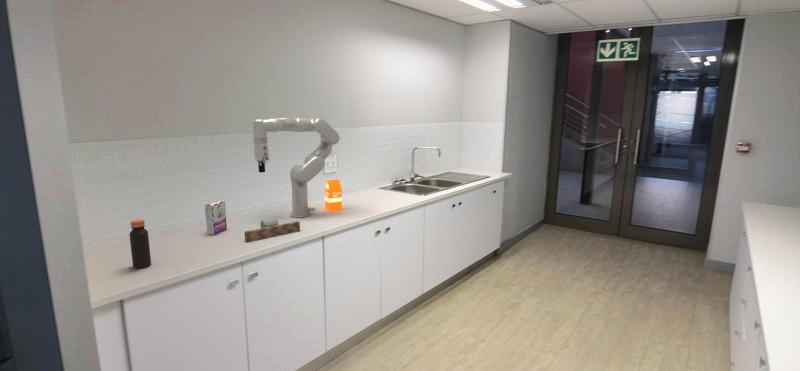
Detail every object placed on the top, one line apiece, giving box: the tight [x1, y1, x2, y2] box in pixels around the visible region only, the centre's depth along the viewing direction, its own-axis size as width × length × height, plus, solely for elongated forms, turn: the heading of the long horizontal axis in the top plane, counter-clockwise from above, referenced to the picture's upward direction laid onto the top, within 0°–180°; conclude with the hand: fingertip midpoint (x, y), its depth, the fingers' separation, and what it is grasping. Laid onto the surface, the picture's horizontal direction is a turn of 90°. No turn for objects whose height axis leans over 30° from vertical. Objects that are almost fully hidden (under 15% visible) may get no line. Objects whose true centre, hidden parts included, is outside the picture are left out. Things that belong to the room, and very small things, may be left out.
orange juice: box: [324, 178, 343, 212], centre depth 283 cm, size 8×9×20 cm
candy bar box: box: [204, 200, 228, 236], centre depth 233 cm, size 11×5×16 cm, turn 168°
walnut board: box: [243, 220, 301, 243], centre depth 228 cm, size 30×2×5 cm, turn 132°
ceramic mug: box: [259, 216, 280, 228], centre depth 234 cm, size 11×8×8 cm
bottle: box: [129, 219, 152, 270], centre depth 183 cm, size 7×7×20 cm
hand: (262, 172), depth 253 cm, fingers closed
